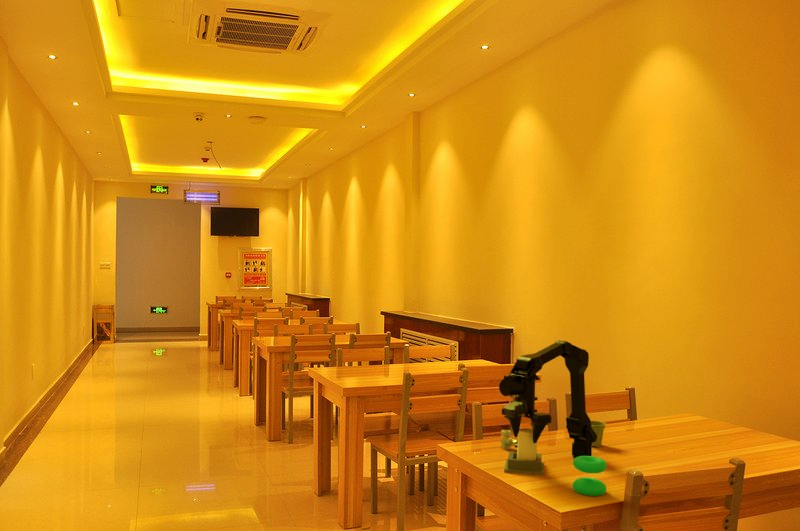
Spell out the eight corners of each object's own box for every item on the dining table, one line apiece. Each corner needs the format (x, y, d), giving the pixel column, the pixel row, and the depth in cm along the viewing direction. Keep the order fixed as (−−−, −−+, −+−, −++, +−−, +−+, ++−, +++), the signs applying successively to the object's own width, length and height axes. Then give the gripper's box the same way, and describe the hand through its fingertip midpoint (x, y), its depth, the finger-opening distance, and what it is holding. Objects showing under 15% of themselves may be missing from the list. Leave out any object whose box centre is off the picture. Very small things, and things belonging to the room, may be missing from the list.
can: (514, 463, 237) (515, 428, 237) (532, 463, 238) (533, 428, 238) (520, 468, 230) (521, 432, 230) (539, 468, 231) (540, 432, 232)
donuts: (614, 461, 208) (588, 464, 204) (613, 495, 208) (587, 498, 204) (591, 453, 217) (566, 456, 213) (591, 485, 217) (565, 488, 213)
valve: (495, 447, 262) (515, 455, 252) (495, 430, 262) (516, 437, 252) (509, 446, 265) (529, 453, 255) (509, 428, 265) (530, 435, 255)
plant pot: (594, 449, 264) (594, 426, 264) (575, 443, 272) (576, 421, 272) (610, 446, 269) (611, 424, 269) (591, 441, 277) (592, 419, 277)
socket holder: (544, 465, 239) (544, 453, 239) (544, 475, 227) (544, 463, 227) (506, 461, 242) (506, 450, 242) (504, 472, 229) (504, 459, 229)
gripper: (490, 391, 238) (489, 436, 238) (528, 400, 222) (526, 448, 222) (514, 389, 244) (513, 433, 244) (553, 397, 228) (551, 445, 228)
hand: (525, 439), depth 234 cm, fingers open, 9 cm apart
